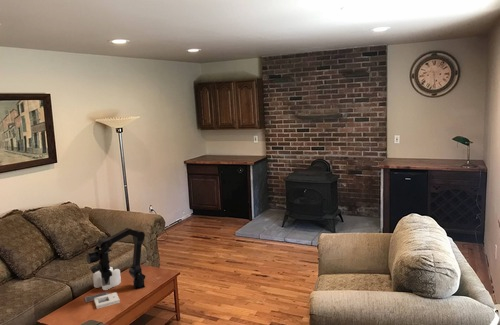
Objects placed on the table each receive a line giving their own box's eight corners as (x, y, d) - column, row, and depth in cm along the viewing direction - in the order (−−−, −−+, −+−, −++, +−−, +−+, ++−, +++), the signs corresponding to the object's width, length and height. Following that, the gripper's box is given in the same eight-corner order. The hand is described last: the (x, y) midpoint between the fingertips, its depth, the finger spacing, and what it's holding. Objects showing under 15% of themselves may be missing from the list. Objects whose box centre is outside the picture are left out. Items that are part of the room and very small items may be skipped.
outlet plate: (116, 295, 264) (116, 292, 264) (120, 302, 254) (119, 299, 254) (94, 300, 258) (93, 297, 258) (96, 308, 247) (96, 305, 247)
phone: (84, 298, 262) (84, 297, 262) (107, 293, 269) (106, 291, 268) (85, 303, 256) (85, 301, 256) (108, 297, 262) (108, 296, 262)
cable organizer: (102, 292, 269) (100, 276, 267) (93, 288, 275) (91, 272, 273) (121, 284, 281) (120, 268, 279) (112, 280, 287) (110, 265, 285)
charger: (109, 281, 260) (108, 273, 260) (110, 284, 256) (109, 275, 256) (101, 283, 258) (101, 274, 257) (102, 286, 254) (101, 277, 254)
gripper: (89, 256, 260) (91, 279, 262) (92, 266, 243) (94, 291, 245) (107, 253, 265) (108, 276, 267) (111, 263, 248) (113, 287, 250)
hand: (105, 282), depth 257 cm, fingers closed on charger, 4 cm apart
